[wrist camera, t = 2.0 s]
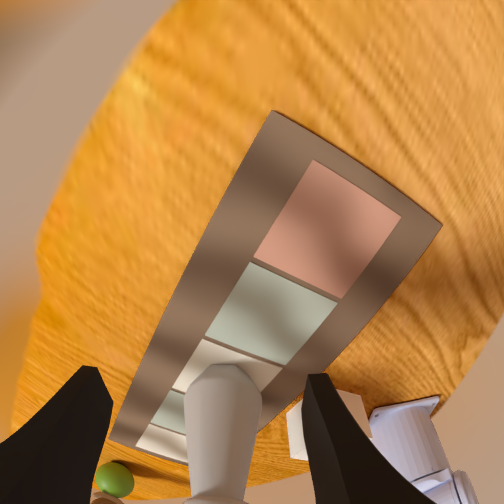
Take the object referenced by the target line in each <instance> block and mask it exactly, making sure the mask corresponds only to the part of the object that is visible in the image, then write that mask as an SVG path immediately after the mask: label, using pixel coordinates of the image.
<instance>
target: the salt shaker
mask: <svg viewBox="0 0 504 504" xmlns="http://www.w3.org/2000/svg"><path fill="white" fill-rule="evenodd" d="M261 411H262V396H261V393H260V391H259V389H258V388H257V386H256V385H255V383H254V381H253V380H252V378H251V376H250V375H248V374H247V373H245V372H244V371H243V370H241V369H240V368H239V367H237V366H236V365H235V364H210V365H209V366H208V367H207V368H206V369H205V370H204V371H203V372H202V373H201V374H200V375H199V376H198V377H197V378H196V379H195V380H194V381H193V382H192V383H191V384H190V386H189V388H188V389H187V391H186V393H185V396H184V415H185V430H186V442H187V454H188V465H189V475H190V485H191V494H192V498H190V499H187V500H186V501H185V502H183V504H248V503H246V502H244V501H243V498H244V494H245V489H246V483H247V478H248V473H249V468H250V463H251V458H252V454H253V449H254V444H255V440H256V435H257V430H258V425H259V420H260V416H261Z"/></svg>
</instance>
